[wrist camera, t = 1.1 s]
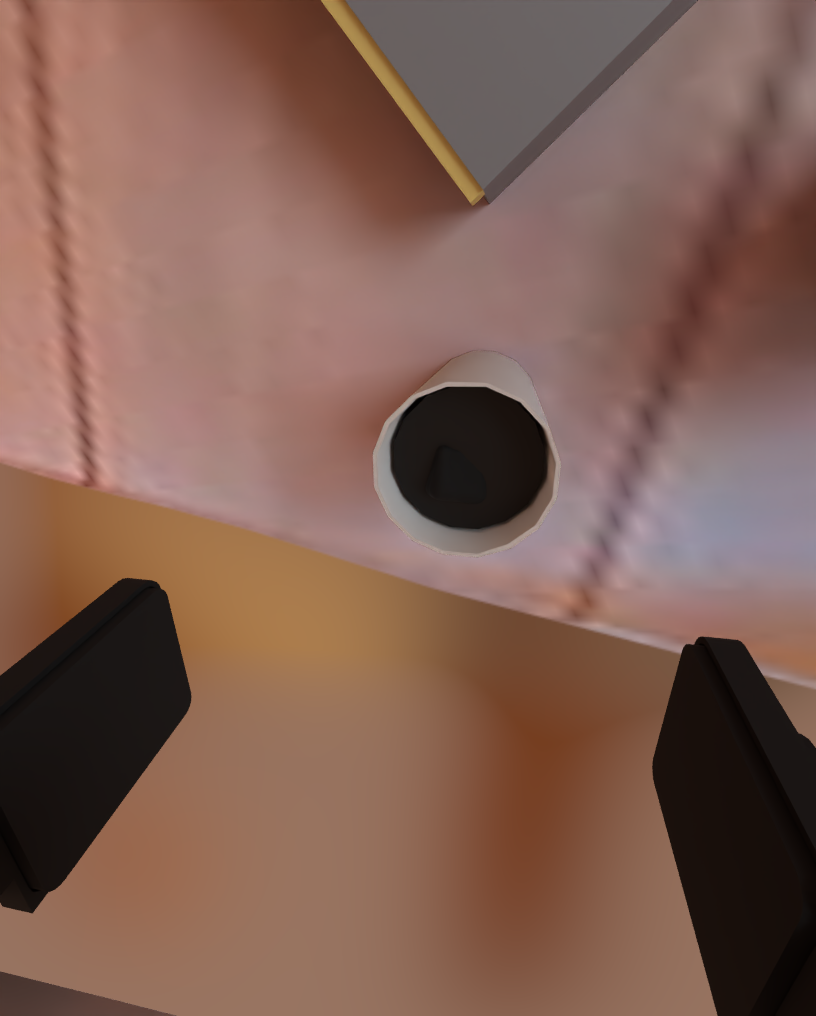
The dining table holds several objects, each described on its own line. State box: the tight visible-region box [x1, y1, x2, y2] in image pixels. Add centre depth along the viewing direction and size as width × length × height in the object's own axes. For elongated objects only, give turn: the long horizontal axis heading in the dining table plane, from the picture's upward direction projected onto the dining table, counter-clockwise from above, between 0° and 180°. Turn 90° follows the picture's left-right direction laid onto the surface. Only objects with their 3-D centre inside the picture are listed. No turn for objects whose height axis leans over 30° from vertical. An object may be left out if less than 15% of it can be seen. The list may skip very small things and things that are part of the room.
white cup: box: [373, 351, 561, 558], centre depth 23 cm, size 7×7×10 cm
